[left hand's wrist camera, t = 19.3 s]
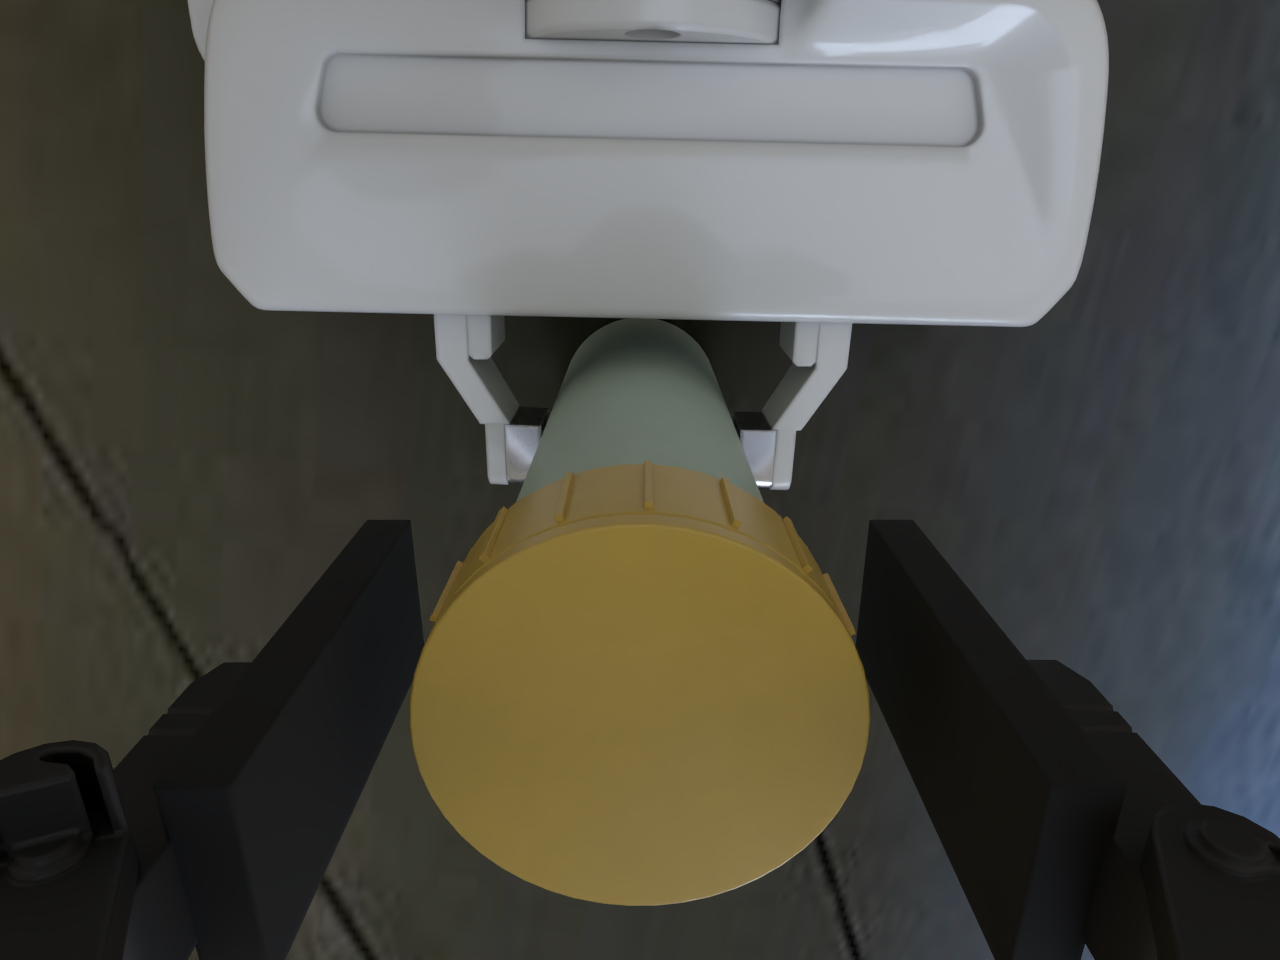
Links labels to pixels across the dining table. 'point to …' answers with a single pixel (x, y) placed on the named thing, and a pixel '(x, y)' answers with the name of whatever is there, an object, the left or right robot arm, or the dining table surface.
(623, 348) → the jar
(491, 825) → the lid
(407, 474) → the dining table surface
